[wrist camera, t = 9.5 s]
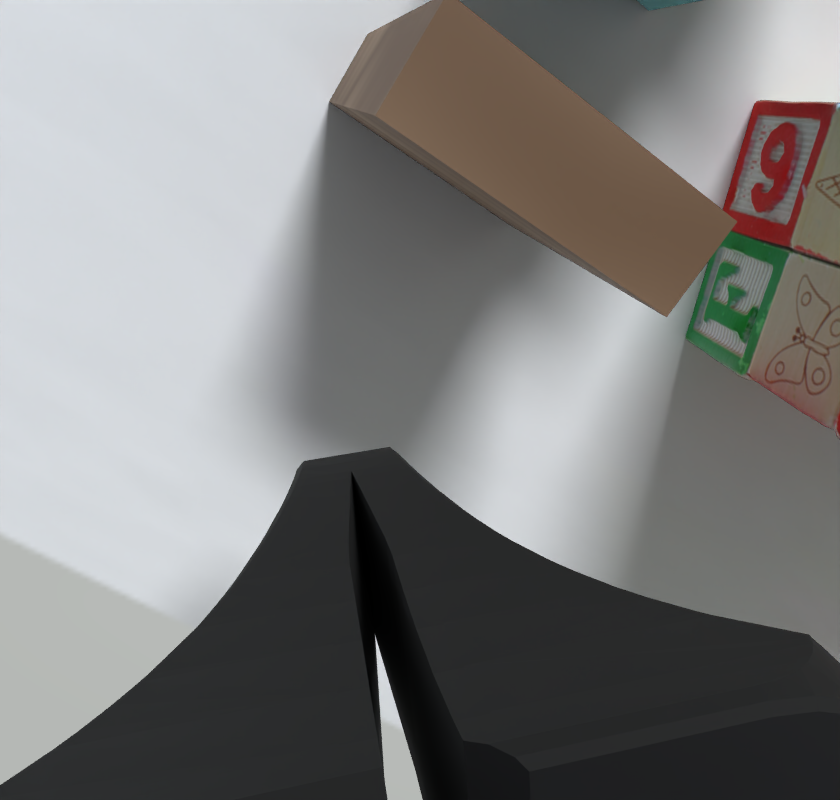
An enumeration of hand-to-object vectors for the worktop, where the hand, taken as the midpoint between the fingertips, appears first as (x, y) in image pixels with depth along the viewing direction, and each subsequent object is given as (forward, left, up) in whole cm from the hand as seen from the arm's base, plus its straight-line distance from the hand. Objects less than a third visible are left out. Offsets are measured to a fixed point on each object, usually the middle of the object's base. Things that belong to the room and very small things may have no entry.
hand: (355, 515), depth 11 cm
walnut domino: (0, +5, -8) cm, 10 cm away
